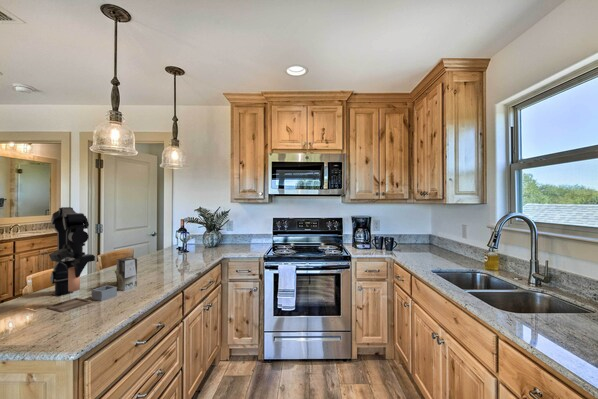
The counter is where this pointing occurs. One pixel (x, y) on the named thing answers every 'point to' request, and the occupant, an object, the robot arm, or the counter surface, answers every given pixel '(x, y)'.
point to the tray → (69, 304)
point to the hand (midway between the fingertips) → (74, 276)
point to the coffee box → (126, 273)
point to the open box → (104, 293)
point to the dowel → (73, 280)
